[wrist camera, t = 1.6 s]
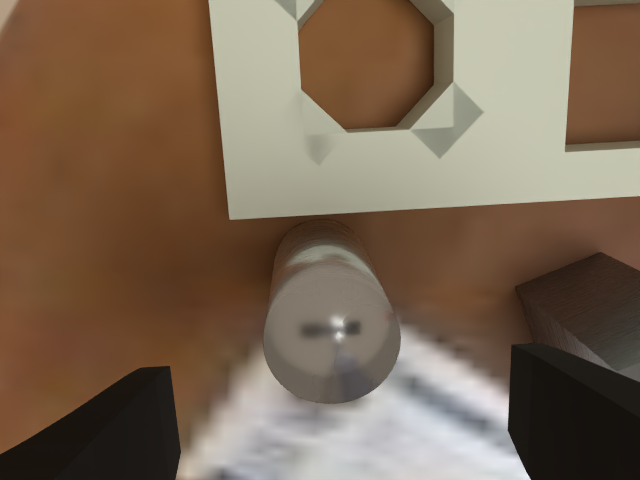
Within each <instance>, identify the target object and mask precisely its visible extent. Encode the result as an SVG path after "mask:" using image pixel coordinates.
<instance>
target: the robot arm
mask: <svg viewBox="0 0 640 480" xmlns="http://www.w3.org/2000/svg"><path fill="white" fill-rule="evenodd" d="M508 432H509V434H510V436H511V439H512V441H513V443H514V446H515V448H516V450H517V453H518V455H519V457H520V459H521V461H522V463H523V466H524V468H525V470H526V472H527V474H528V475H529V477H530V479H531V480H640V382H639V381H636V380H634V379H631V378H629V377H626V376H624V375H621V374H619V373H617V372H614V371H612V370H609V369H607V368H605V367H602V366H600V365H597V364H595V363H593V362H590V361H588V360H586V359H583V358H581V357H578V356H576V355H574V354H571V353H569V352H566V351H563V350H561V349H558V348H555V347H552V346H549V345H546V344H542V343H532V344H516V345H512V347H511V370H510V393H509V416H508ZM180 454H181V449H180V441H179V434H178V426H177V418H176V410H175V402H174V394H173V387H172V379H171V371H170V366H161V367H145V368H139V369H137V370H135V371H133V372H132V373H130V374H128V375H127V376H125V377H123V378H122V379H120V380H119V381H117V382H116V383H114V384H113V385H111V386H110V387H108V388H107V389H105V390H104V391H103V392H101V393H100V394H98V395H97V396H95V397H94V398H92V399H91V400H89V401H88V402H86V403H85V404H83V405H82V406H80V407H79V408H77V409H76V410H74V411H73V412H71V413H70V414H68V415H66V416H65V417H63V418H61V419H60V420H58V421H57V422H55V423H53V424H52V425H50V426H49V427H47V428H45V429H44V430H42V431H40V432H39V433H37V434H36V435H34V436H32V437H31V438H29V439H27V440H26V441H24V442H22V443H20V444H19V445H17V446H15V447H13V448H11V449H9V450H8V451H6V452H4V453H2V454H0V480H175V479H176V474H177V469H178V464H179V459H180Z"/></svg>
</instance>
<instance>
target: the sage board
mask: <svg viewBox="0 0 640 480" xmlns="http://www.w3.org/2000/svg"><path fill="white" fill-rule="evenodd" d="M323 1H324V0H209V9H210V20H211V30H212V41H213V51H214V62H215V72H216V83H217V93H218V104H219V114H220V125H221V135H222V146H223V156H224V167H225V177H226V188H227V198H228V209H229V219H230V220H235V219H253V218H270V217H287V216H304V215H321V214H338V213H355V212H373V211H390V210H407V209H424V208H441V207H458V206H475V205H493V204H510V203H527V202H544V201H561V200H578V199H595V198H613V197H630V196H640V141H623V142H605V143H587V144H569V145H565V139H566V122H567V106H568V90H569V74H570V58H571V41H572V25H573V9H574V6H594V5H614V4H635V3H640V0H409V1H410V2H411V3H412V4H413V5H414V6H415V7H416V8H417V9H418V10H419V11H420V12H421V13H422V14H423V15H424V16H425V17H426V18H427V19H428V20H429V21H430V22H431V23H432V24H433V25H434V85H433V86H432V87H431V88H430V89H429V90H428V91H427V93H426V94H425V95H424V96H423V97H422V98H421V99H420V100H419V101H418V102H417V104H416V105H415V106H414V107H413V108H412V109H411V110H410V111H409V112H408V113H407V115H406V116H405V117H404V118H403V119H402V120H401V121H400V122H399V123H398V124H397V125H396V127H378V128H359V129H343V128H342V127H341V126H340V125H339V124H338V123H337V122H335V121H334V120H333V119H332V118H331V117H330V116H329V115H328V114H327V113H326V112H325V111H324V110H323V109H322V108H320V107H319V106H318V105H317V104H316V103H315V102H314V101H313V100H312V99H311V98H310V97H309V96H308V95H306V94H305V93H304V92H303V91H302V90H301V79H300V62H299V45H298V31H299V30H300V29H301V27H302V26H303V25H304V24H305V23H306V22H307V20H308V19H309V18H310V17H311V16H312V14H313V13H314V12H315V11H316V10H317V8H318V7H319V6H320V5H321V4H322V3H323Z"/></svg>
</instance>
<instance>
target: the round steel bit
mask: <svg viewBox="0 0 640 480" xmlns="http://www.w3.org/2000/svg"><path fill="white" fill-rule="evenodd" d="M400 341H401V336H400V328H399V323H398V320H397V317H396V315H395V313H394V310H393V308H392V306H391V304H390V302H389V300H388V297H387V295H386V293H385V291H384V289H383V287H382V285H381V282H380V280H379V278H378V276H377V274H376V272H375V270H374V267H373V265H372V263H371V261H370V259H369V257H368V254H367V252H366V250H365V248H364V246H363V244H362V242H361V240H360V239H359V238H358V236H357V235H356V234H355V233H354V232H353V231H352V230H351V229H349V228H348V227H347V226H345V225H343V224H341V223H339V222H336V221H332V220H326V219H317V220H311V221H307V222H304V223H302V224H300V225H298V226H296V227H295V228H293V229H292V230H290V231H289V232H288V233H287V234H286V235H285V237H284V238H283V239H282V241H281V243H280V244H279V246H278V249H277V252H276V255H275V262H274V268H273V275H272V282H271V288H270V295H269V302H268V309H267V315H266V322H265V329H264V336H263V348H264V354H265V358H266V361H267V364H268V366H269V368H270V370H271V372H272V373H273V375H274V377H275V378H276V379H277V380H278V381H279V383H280V384H281V385H283V386H284V387H285V388H286V389H287V390H289V391H290V392H291V393H293V394H295V395H297V396H299V397H301V398H303V399H306V400H308V401H312V402H316V403H324V404H337V403H344V402H348V401H352V400H355V399H358V398H360V397H362V396H364V395H366V394H368V393H370V392H371V391H373V390H374V389H375V388H377V387H378V386H379V385H380V384H381V383H382V382H383V381H384V380H385V379H386V378H387V376H388V375H389V373H390V372H391V371H392V369H393V367H394V365H395V363H396V360H397V357H398V355H399V350H400Z"/></svg>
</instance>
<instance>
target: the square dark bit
mask: <svg viewBox="0 0 640 480" xmlns="http://www.w3.org/2000/svg"><path fill="white" fill-rule="evenodd" d="M515 288H516V291H517V294H518V297H519V300H520V303H521V305H522V308H523V311H524V314H525V317H526V320H527V323H528V326H529V329H530V331H531V334H532V337H533V340H534V343H542V344H546V345H549V346H552V347H555V348H558V349H561V350H563V351H566V352H569V353H571V354H574V355H576V356H578V357H581V358H583V359H586V360H588V361H590V362H593V363H595V364H597V365H600V366H602V367H605V368H607V369H609V370H612V371H614V372H617V373H619V374H621V375H624V376H626V377H629V378H631V379H634V380H636V381H639V382H640V271H639V270H637V269H635V268H633V267H630V266H628V265H626V264H624V263H622V262H620V261H618V260H616V259H614V258H612V257H610V256H608V255H606V254H604V253H602V252H600V253H597V254H595V255H593V256H590V257H588V258H585V259H583V260H580V261H578V262H575V263H573V264H570V265H568V266H565V267H563V268H560V269H558V270H556V271H553V272H551V273H548V274H546V275H543V276H541V277H538V278H536V279H533V280H531V281H528V282H526V283H523V284H521V285H519V286H516V287H515Z"/></svg>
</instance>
